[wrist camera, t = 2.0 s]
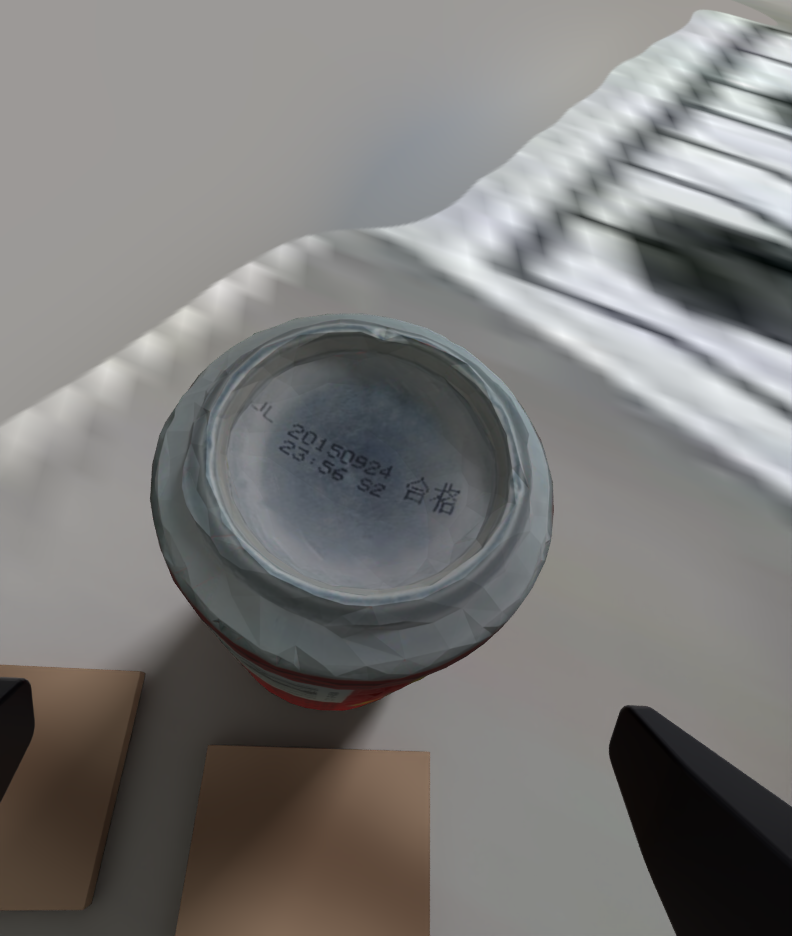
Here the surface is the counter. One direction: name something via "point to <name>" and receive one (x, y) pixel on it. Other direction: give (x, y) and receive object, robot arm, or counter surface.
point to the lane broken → (65, 785)
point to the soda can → (350, 505)
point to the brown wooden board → (309, 844)
